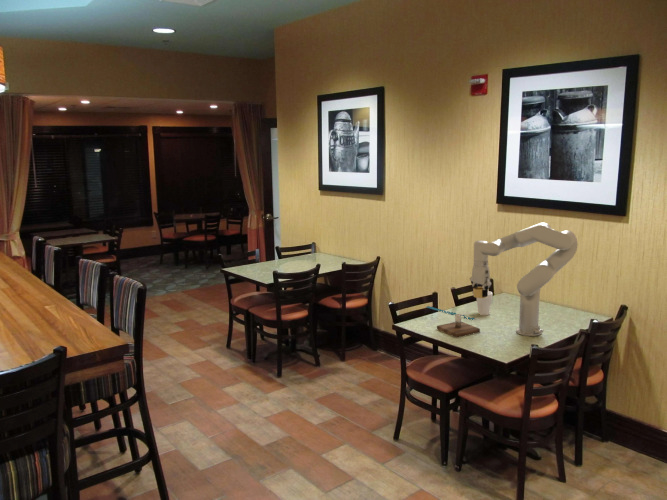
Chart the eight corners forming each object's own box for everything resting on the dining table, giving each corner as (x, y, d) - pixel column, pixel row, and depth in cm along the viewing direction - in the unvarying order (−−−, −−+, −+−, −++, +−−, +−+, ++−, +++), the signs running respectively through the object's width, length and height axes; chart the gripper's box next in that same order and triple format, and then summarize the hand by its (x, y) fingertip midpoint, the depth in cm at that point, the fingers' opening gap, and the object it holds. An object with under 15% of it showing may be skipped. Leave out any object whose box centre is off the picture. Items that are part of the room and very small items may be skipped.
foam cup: (492, 316, 314) (493, 294, 312) (476, 316, 316) (476, 294, 314) (491, 311, 323) (491, 290, 321) (475, 311, 325) (475, 290, 323)
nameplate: (471, 321, 307) (476, 319, 310) (471, 320, 307) (476, 318, 310) (424, 308, 336) (429, 306, 339) (424, 307, 336) (429, 305, 339)
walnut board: (479, 332, 287) (479, 328, 287) (456, 337, 280) (456, 334, 280) (459, 324, 301) (459, 321, 301) (437, 329, 294) (437, 325, 294)
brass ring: (489, 296, 293) (489, 288, 292) (479, 298, 290) (479, 290, 289) (480, 294, 299) (480, 286, 299) (470, 295, 296) (470, 287, 296)
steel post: (462, 327, 290) (462, 315, 289) (457, 328, 288) (457, 316, 287) (458, 325, 293) (458, 313, 291) (453, 326, 291) (453, 314, 290)
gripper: (497, 265, 285) (496, 297, 289) (475, 260, 301) (474, 290, 304) (486, 266, 282) (485, 299, 285) (464, 261, 298) (464, 292, 301)
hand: (480, 294), depth 295 cm, fingers closed on brass ring, 7 cm apart
